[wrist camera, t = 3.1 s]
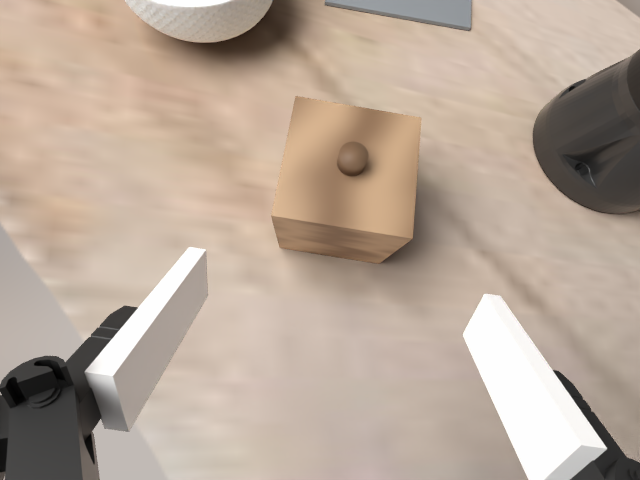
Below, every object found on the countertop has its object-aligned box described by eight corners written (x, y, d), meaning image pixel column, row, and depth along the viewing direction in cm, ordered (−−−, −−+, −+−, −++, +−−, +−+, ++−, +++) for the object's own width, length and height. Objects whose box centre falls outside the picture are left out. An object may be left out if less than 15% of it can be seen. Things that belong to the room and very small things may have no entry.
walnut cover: (388, 173, 32) (427, 107, 22) (379, 263, 29) (419, 233, 19) (296, 158, 32) (295, 84, 22) (279, 247, 29) (269, 209, 19)
